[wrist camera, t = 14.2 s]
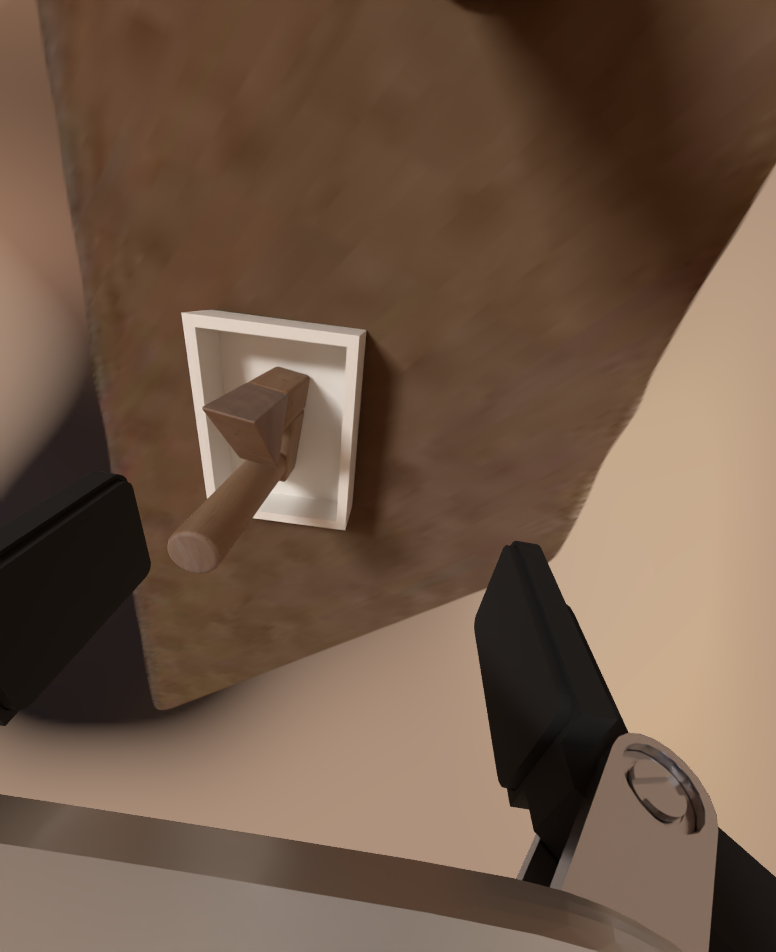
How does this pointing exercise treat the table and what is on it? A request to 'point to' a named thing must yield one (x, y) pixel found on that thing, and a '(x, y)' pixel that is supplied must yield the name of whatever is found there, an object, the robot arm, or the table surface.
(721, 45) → the table surface
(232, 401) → the brown rod with wedge
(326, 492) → the tray
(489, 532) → the table surface
